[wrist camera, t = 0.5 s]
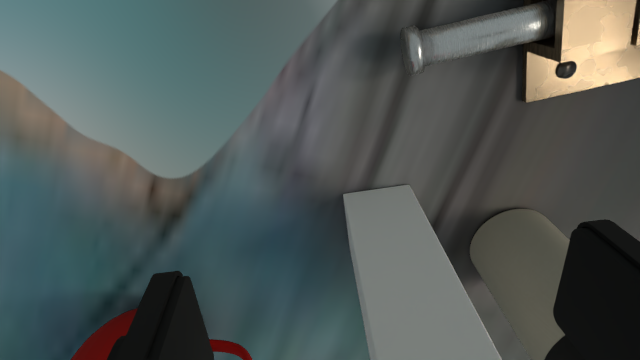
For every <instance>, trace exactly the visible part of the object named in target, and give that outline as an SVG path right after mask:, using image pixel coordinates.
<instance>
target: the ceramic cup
mask: <svg viewBox="0 0 640 360" xmlns="http://www.w3.org/2000/svg"><path fill="white" fill-rule="evenodd" d="M137 309H138V308H137ZM137 309H134V310H130V311H128V312H125V313H123V314H121V315H119V316H117V317H115V318H113V319H112V320H110V321H109V322H107V323H106V324H104V325H103V326H102V327H101V328H99V329H98V330H97V331H96V332H94V333H93V334H92V335H91V336H90V337H89V338H88V339H87V340H86V341H85V342H84V344H83V345H82V346H81V347H80V348H79V349H78V351H77V352H76V353H75V355H74V356H73V357H72V359H71V360H107V358H108V355H109V353H110V351H111V349H112V347H113V345H114V343H115V342H116V340H117V339H118V338H119V337H121V336H125V335H126V334H127V332H128V330H129V327H130V325H131V323H132V321H133V318H134V316H135V314H136V312H137ZM209 341H210V344H211V348H212V351H213V352H214V351H215V352H226V353H231V354H235V355H237V356H239V357H241V358H242V359H243V360H252V358H251V356H250V354H249V353H248V351H247V350H246V349H245V348H243V347H242V346H241V345H239V344H236V343H233V342H229V341H224V340H213V339H209Z"/></svg>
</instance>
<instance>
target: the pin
mask: <svg viewBox="0 0 640 360" xmlns="http://www.w3.org/2000/svg"><path fill="white" fill-rule="evenodd" d="M556 10H557V0H547V1H543V2H539V3H535V4H530V5H526V6H522V7H518V8H513V9H509V10H505V11H501V12H496V13H492V14H488V15H484V16H480V17H475V18H471V19H467V20H463V21H458V22H454V23H450V24H446V25H441V26H437V27H433V28H429V29H424V30H420V31H419V29H418V28H417V26H415V25H414V26H410V27H406V28H402V30H401V37H400V38H401V51H402V57H403V62H404V65H405V68H406V71H407V73H408V75H410V76H412V75H416V74H420V73H423V71H424V67H425V66H429V65H433V64H438V63H442V62H446V61H451V60H455V59H459V58H464V57H468V56H472V55H477V54H481V53H485V52H490V51H494V50H498V49H503V48H507V47H511V46H516V45H520V44H524V43H529V42H533V41H537V40H542V39H546V38H550V37H555V29H556Z"/></svg>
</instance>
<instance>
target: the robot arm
mask: <svg viewBox="0 0 640 360" xmlns="http://www.w3.org/2000/svg"><path fill="white" fill-rule="evenodd" d="M553 316H554V319H555V321H556V323H557V325H558V326H559V327H560V329H561V330H562V331H563V332H564V334H565V335H566V336H567V338H568V339H569V340H570V341H571V343H572V344H573V345H574V346H575V348H576V349H577V350H578V352H579V353H580V354H581V355H582V357H583V358H584V359H585V360H640V242H639V241H638V240H637V239H635V238H634V237H632V236H631V235H630V234H628V233H627V232H626V231H624V230H623V229H622V228H620V227H619V226H618V225H616V224H615V223H614V222H612V221H610V220H597V221H588V222H583V223H580V224H579V225H578V227H577V229H575V230H574V231H573V232H572V234H571V238H570V242H569V246H568V250H567V254H566V258H565V262H564V266H563V271H562V275H561V279H560V283H559V287H558V291H557V295H556V299H555V303H554V307H553ZM107 360H214V355H213V351H212V348H211V344H210V341H209V338H208V335H207V331H206V328H205V325H204V321H203V318H202V315H201V312H200V308H199V305H198V302H197V299H196V295H195V292H194V289H193V285H192V282H191V279H190V277H189V276H184V277H183V276H182V273H181V272H180V271H174V272H166V273H157V274H154V275H153V276H152V278H151V280H150V282H149V284H148V287H147V289H146V291H145V293H144V296H143V298H142V300H141V302H140V305H139V307H138V309H137V312H136V314H135V316H134V318H133V321H132V323H131V325H130V327H129V330H128V332H127V334H126V335H125V336H121V337H119V338H118V339H117V340H116V342H115V343H114V345H113V347H112V349H111V351H110V353H109V355H108V358H107Z"/></svg>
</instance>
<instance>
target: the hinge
mask: <svg viewBox="0 0 640 360" xmlns="http://www.w3.org/2000/svg"><path fill="white" fill-rule="evenodd" d="M543 1H547V0H524V6H526V5H530V4H535V3H539V2H543ZM636 78H640V0H557V10H556V29H555V37H550V38H546V39H542V40H537V41H533V42H529V43H524V44H523V84H522V101H524V102H525V103H528V102H532V101H537V100H541V99H546V98H550V97H555V96H559V95H564V94H568V93H573V92H577V91H582V90H586V89H591V88H595V87H600V86H604V85H609V84H613V83H618V82H622V81H627V80H631V79H636Z"/></svg>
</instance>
